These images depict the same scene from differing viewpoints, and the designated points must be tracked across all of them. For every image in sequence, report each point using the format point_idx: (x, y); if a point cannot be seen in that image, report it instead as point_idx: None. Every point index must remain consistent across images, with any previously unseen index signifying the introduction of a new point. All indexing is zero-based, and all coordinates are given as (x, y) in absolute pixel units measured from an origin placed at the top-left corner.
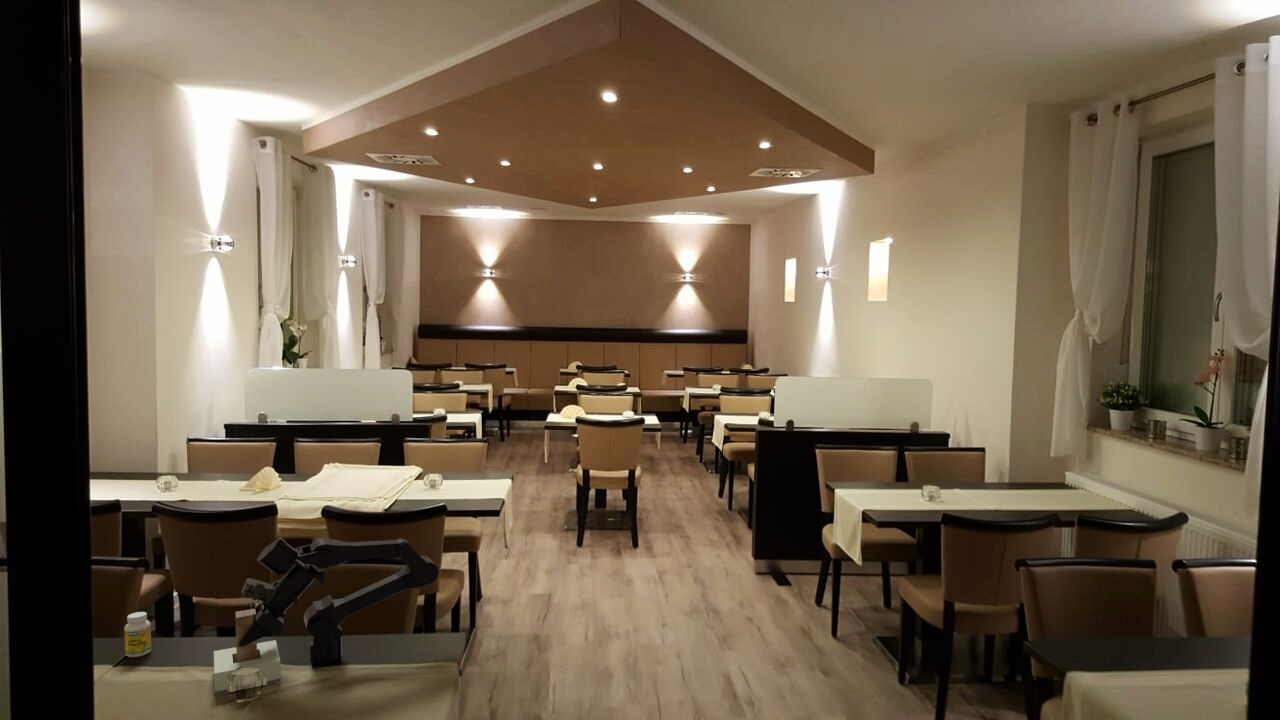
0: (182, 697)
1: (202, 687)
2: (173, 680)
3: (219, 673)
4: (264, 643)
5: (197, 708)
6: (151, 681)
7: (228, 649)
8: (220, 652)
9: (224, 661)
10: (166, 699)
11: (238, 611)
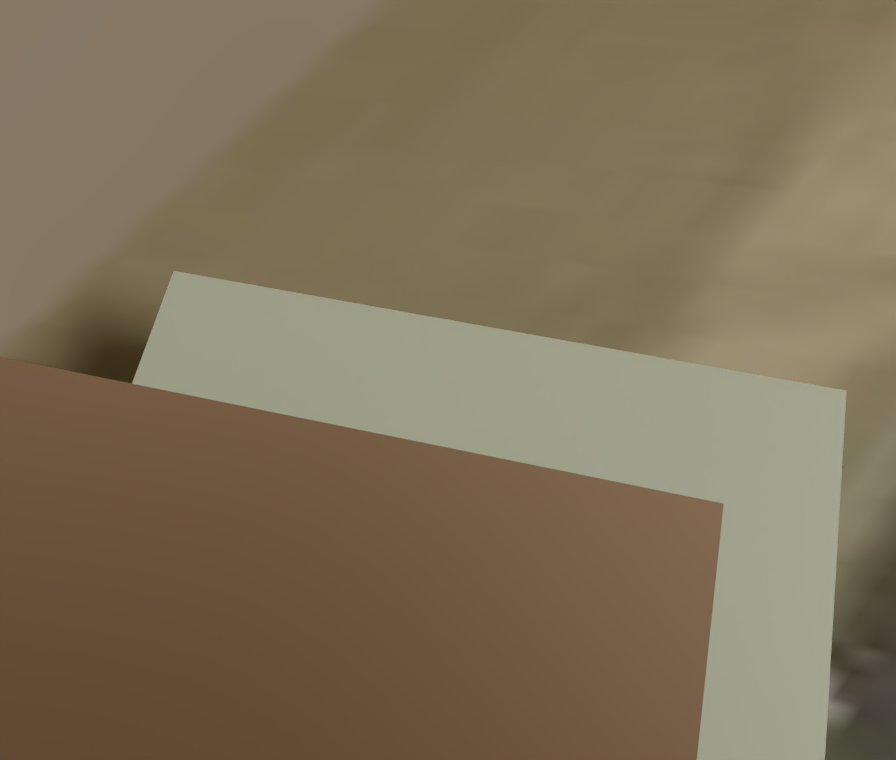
0: (408, 180)
1: (489, 316)
2: (777, 173)
3: (164, 319)
4: None
5: (153, 228)
6: (853, 57)
7: (798, 551)
8: (751, 446)
9: (420, 420)
10: (452, 99)
11: (703, 679)
